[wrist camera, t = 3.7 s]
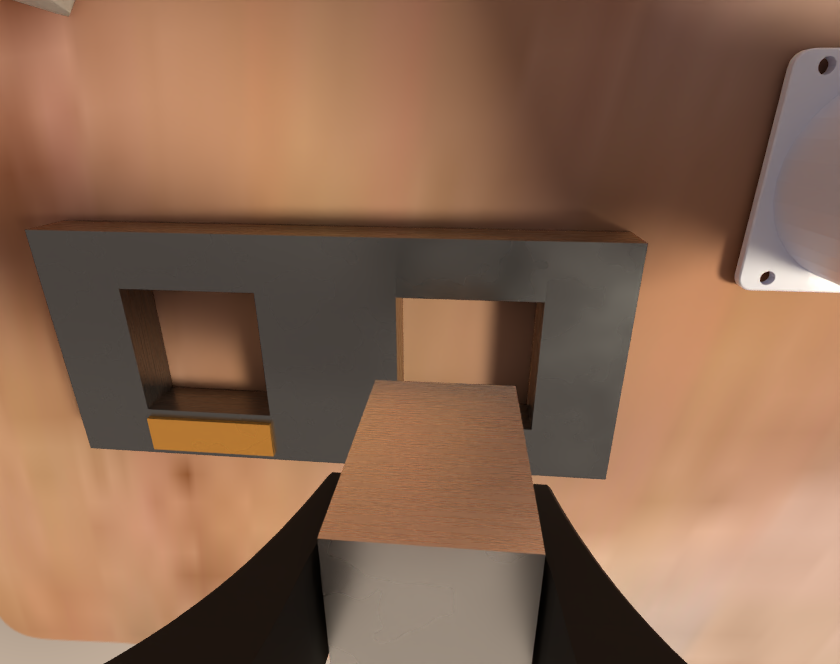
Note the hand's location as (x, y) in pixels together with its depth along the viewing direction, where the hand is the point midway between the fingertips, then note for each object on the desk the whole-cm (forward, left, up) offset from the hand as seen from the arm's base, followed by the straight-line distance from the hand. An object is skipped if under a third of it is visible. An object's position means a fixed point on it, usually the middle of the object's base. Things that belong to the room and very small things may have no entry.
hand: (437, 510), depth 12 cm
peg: (0, 0, -3) cm, 3 cm away
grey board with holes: (+5, 0, -10) cm, 11 cm away
